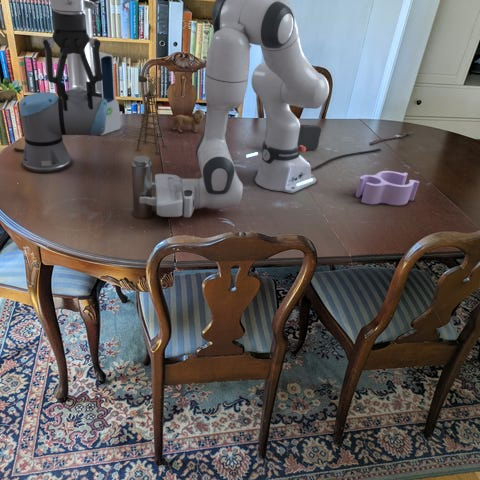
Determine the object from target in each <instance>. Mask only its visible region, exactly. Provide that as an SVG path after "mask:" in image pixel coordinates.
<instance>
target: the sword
mask: <svg viewBox="0 0 480 480" xmlns="http://www.w3.org/2000/svg"><path fill="white" fill-rule="evenodd" d="M402 134H403V133H398V134H396V135H393V136H392V135H391V136H388V137H383V138H379V139H376V140H373V141H370V145H374V144H377V143H380V142H383V141H387V140H391V139H397V138H404V137H405V136H411V135H413V134H408V135H402Z"/></svg>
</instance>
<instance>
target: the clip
mask: <svg viewBox="0 0 480 480" xmlns="http://www.w3.org/2000/svg"><path fill="white" fill-rule="evenodd" d="M408 175H409V174H408V172H399V171H394V170H382V171H378V172H377V173H376V174H363V175H361V176H360V177H359V181H358V185H357V188H356V192H355V197H356V198H360V197H361V196H362V198H361V200H360V202H361V203H362V204H367V205H378V204H387V205H390V206H403V205H404V206H405V205H406V204H408V202H409V201H412V202H413V201H414V200H415V197H416V193H417V191H418V187H419V185H420V181H419V180H414V179H409V180H408V183H407V184H406V182H407V177H408Z"/></svg>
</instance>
